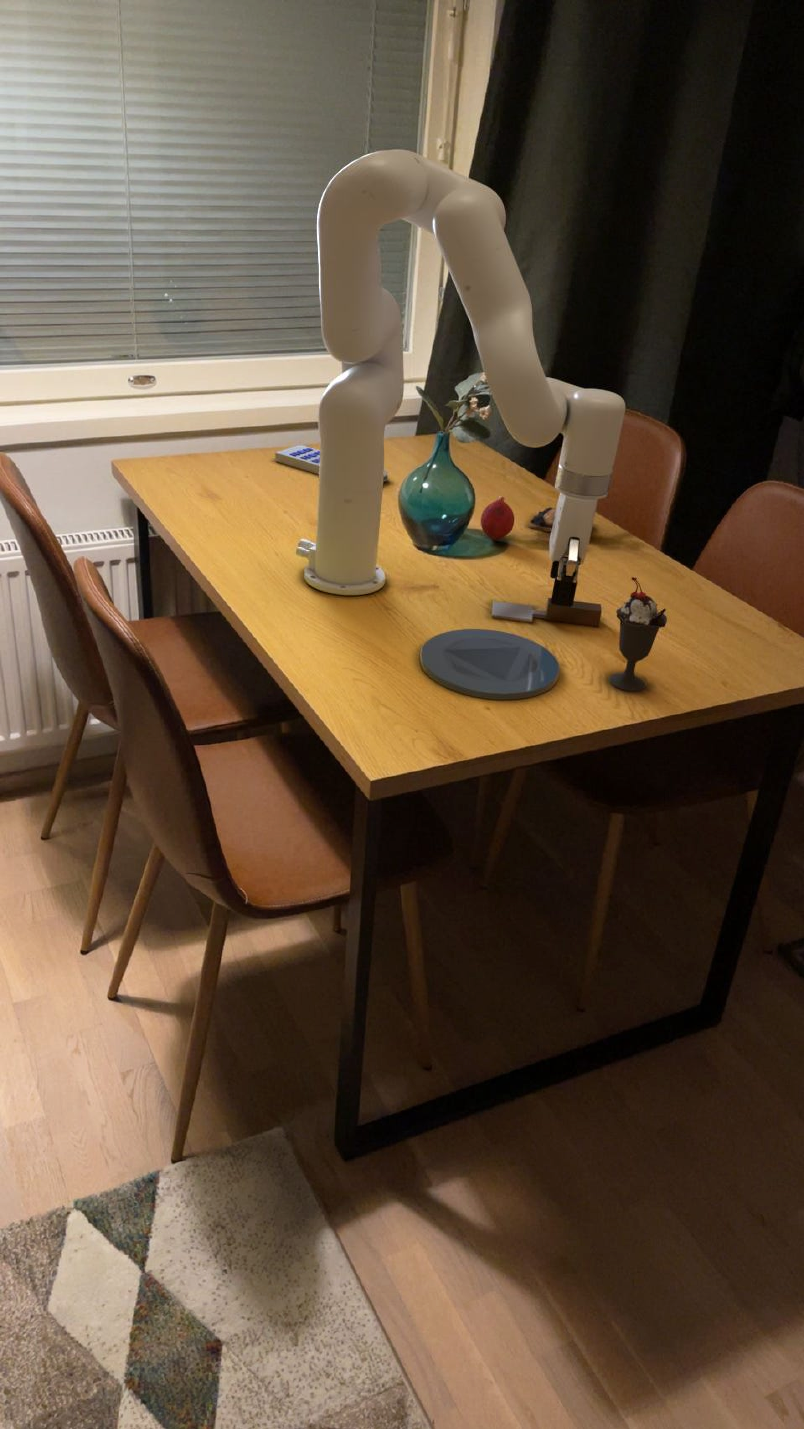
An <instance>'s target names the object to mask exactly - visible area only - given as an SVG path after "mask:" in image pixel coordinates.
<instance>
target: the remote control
mask: <svg viewBox="0 0 804 1429" xmlns="http://www.w3.org/2000/svg"><path fill="white" fill-rule="evenodd" d="M274 454H275V455H274V461H275V462H277V463H280V464H284V465H287V466H290V467H294V468H297V469H300V470H303V471H306V472H309V473H312V474H315V475H316V474H317V475H319V466H320V449H317V448H313V447H310V446H306V445H303V444H297V445H294V446H291V447H287V448H286V449H281V450H279V451H275V453H274ZM388 475H389V474H388V471H386V470H385V469H384V476H383V483H384V482H387V481H388Z"/></svg>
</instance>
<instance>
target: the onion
mask: <svg viewBox="0 0 804 1429" xmlns="http://www.w3.org/2000/svg"><path fill="white" fill-rule="evenodd" d="M505 499H506V498H505V497H504V496H503V495H499V496H498V497H497V499H496V500H494V501H492V502H491V503H489V504H488V505H487V506H486V507H485V508H484V509H483V511H482V513H481V516H480V526H481V530H482V531H483V533H484V534H485V535H486V536H487V537H488V538H489V539H490V540H492V541H493V542H498V541H499V540H501V539H503V538H504V537H506V536H508V535H509V534H510V533H511V532H512V530H513V528H514V525H515V514H514V511H513V509H512V508H511V506H510V505H509V504H508V503H507V502H505Z"/></svg>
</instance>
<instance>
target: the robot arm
mask: <svg viewBox="0 0 804 1429" xmlns="http://www.w3.org/2000/svg"><path fill="white" fill-rule="evenodd" d="M316 220H317V221H316V222H317V223H316V235H317V237H316V238H317V253H318V284H319V304H320V305H319V306H320V328H321V329H320V331H321V337H322V343H323V345H324V347H325V349H326V351H327V352H328V353H329V354H330V356H331V357H332V358H333V359H335V360H336V361H337V362H340V363H341V374H340V375H339V376H337V377H336V378H335V379H334V380H333V381H331V382H330V383H329V385H328V386H327V387H326V389H325V390H324V392H323V394H322V396H321V398H320V401H319V405H318V410H317V411H318V413H317V425H318V438H319V439H318V440H319V450H320V466H319V474H318V495H317V496H318V497H317V514H316V532H315V535H316V536H315V542H314V541H312V540H308V539H306V538H301V539H300V540H299V542H298V545H297V548H296V550H295V555H296V556H298V557H300V558H305V559H307V560H308V564H307V565H306V566H305V567H304V573H303V578H304V580H305V582H306V583H307V584H308V585H309V586H311V587H312V588H314V589H316V590H318V591H321V592H323V593H329V594H333V595H338V596H339V595H340V596H359V595H360V596H361V595H368V594H371V593H374V592H377V591H379V590H381V588H383V587H384V586H385V584H386V579H387V578H386V573H385V572H384V570H383V569H382V568H381V567H379V566H378V565H377V563H378V550H379V538H380V526H381V514H382V500H383V490H384V489H383V488H384V482H383V476H384V470H385V429H386V426H387V425H388V424H389V422H390V421H391V420H392V419H393V418H394V417H395V416H396V415H397V414H398V412H399V410H400V408H401V407H402V403H403V398H404V388H405V381H404V380H405V376H404V374H405V373H404V338H403V337H404V335H403V333H404V332H403V320H402V314H401V310H400V307H399V304H398V302H397V300H396V299H395V297H394V296H393V295H392V293H391V292H389V290H387V289H386V288H385V287H383V284H382V254H381V246H380V242H379V237H380V236H379V234H380V232H381V229H382V227H383V226H385V225H386V224H389V223H392V222H396V221H399V220H402V221H404V222H407V223H410V224H411V225H413V226H415V227H418V228H420V229H421V230H424V231H426V232H428V233H430V234H432V235H434V238H435V241H436V243H437V246H438V248H439V251H440V254H441V256H442V258H443V261H444V262H445V265H446V267H447V270H448V272H449V275H450V277H451V279H452V281H453V285H454V286H455V289H456V292H457V294H458V296H459V298H460V301H461V304H462V305H463V308H464V310H465V313H466V315H467V317H468V318H467V319H469V322H470V325H471V330H472V333H473V334H472V335H473V338H474V343H475V345H476V349H477V353H478V355H479V359H480V363H481V366H482V369H483V373H484V376H485V380H486V383H487V385H488V388H489V391H490V393H491V395H492V398H493V401H494V403H495V405H496V407H497V410H498V412H499V414H500V416H501V419H502V421H503V423H504V426H505V427H506V429H507V431H508V433H509V434H510V436H511V437H512V438H513V439H514V440H515V441H516V442H517V443H518V444H520V445H522V446H525V447H527V448H541V447H545V446H546V445H548V444H550V443H552V442H553V441H554V440H555V439H556V438H557V437H558V436H559V434H562V436H563V439H562V444H561V445H562V447H561V450H560V455H559V461H558V467H557V471H556V472H557V473H556V477H555V482H554V488H555V490H557V492H559V496H558V500H557V504H556V507H555V508H556V513H555V518H554V522H553V527H552V531H550V536H549V543H548V544H549V546H548V547H549V559H550V561H551V562H552V563H551V568H550V573H549V577H550V578H551V579H553V580H554V582H553V587H552V592H551V596H550V598H551V604H554V605H560V606H567V607H571V606H573V602H574V601H575V596H576V591H577V587H578V576H579V569H580V568H579V567H580V566H582V565H583V564H584V563H585V560H586V556H587V551H588V548H589V544H590V540H591V535H592V531H593V527H594V523H595V517H596V513H597V507H598V502H599V500H602V499H605V498H606V497H608V494H609V489H610V484H611V480H612V475H613V471H614V465H615V462H616V461H615V460H616V457H617V456H616V455H617V451H618V447H619V442H620V437H621V433H622V427H623V423H624V419H625V413H626V402H625V400H624V398H622V396H621V395H619V394H617V393H615V392H612V391H609V390H605V389H599V388H584V387H580V386H577V385H574V384H571V383H568V382H565V381H562V380H560V379H557V378H552V377H548V376H547V377H546V374H545V372H544V369H543V366H542V363H541V361H540V357H539V354H538V351H537V345H536V342H535V337H534V329H533V328H534V326H533V309H532V308H533V306H532V301H531V296H530V293H529V291H528V288H527V286H526V283H525V281H524V278H523V276H522V274H521V271H520V268H519V266H518V263H517V261H516V258H515V256H514V253H513V251H512V248H511V245H510V244H509V240H508V238H507V235H506V232H505V228H506V224H507V223H506V222H507V214H506V209H505V206H504V203H503V200H502V199H501V197H500V195H498V194H497V192H496V191H494V190H493V189H492V188H491V187H489V186H487V185H485V184H483V183H481V182H479V181H477V180H474V179H472V178H470V177H468V176H465V175H463V174H461V173H459V172H457V171H454V170H452V169H450V168H449V167H447V166H444V165H441V164H440V163H438V162H436V161H434V160H431V159H429V158H428V157H425V156H423V155H421V154H419V153H417V152H414V151H411V150H407V149H401V148H398V149H397V148H396V149H395V148H394V149H389V150H387V149H386V150H377V151H374V152H371V153H367V154H365V155H363V156H360V157H359V158H356V159H355V160H353V161H351V162H350V163H349V164H347V165H345V166H344V167H343V168H341V169H340V171H338V172H337V173H336V174H335V175H334V176H333V177H332V179H331V180H330V181H329V183H328V184H327V186H326V188H325V189H324V191H323V193H322V195H321V199H320V202H319V205H318V210H317V219H316Z"/></svg>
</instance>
